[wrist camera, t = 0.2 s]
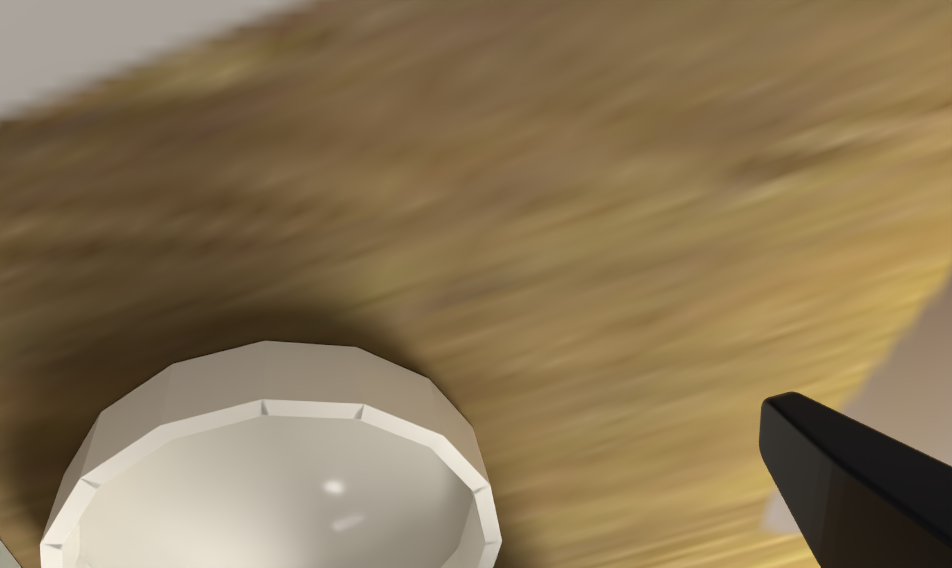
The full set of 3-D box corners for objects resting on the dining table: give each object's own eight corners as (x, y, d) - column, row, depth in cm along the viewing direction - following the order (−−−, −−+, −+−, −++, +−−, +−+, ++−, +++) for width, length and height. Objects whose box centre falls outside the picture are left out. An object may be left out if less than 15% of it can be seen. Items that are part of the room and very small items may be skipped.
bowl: (504, 575, 33) (522, 636, 31) (161, 674, 32) (150, 746, 29) (444, 295, 25) (461, 347, 23) (-20, 412, 24) (-56, 481, 21)
